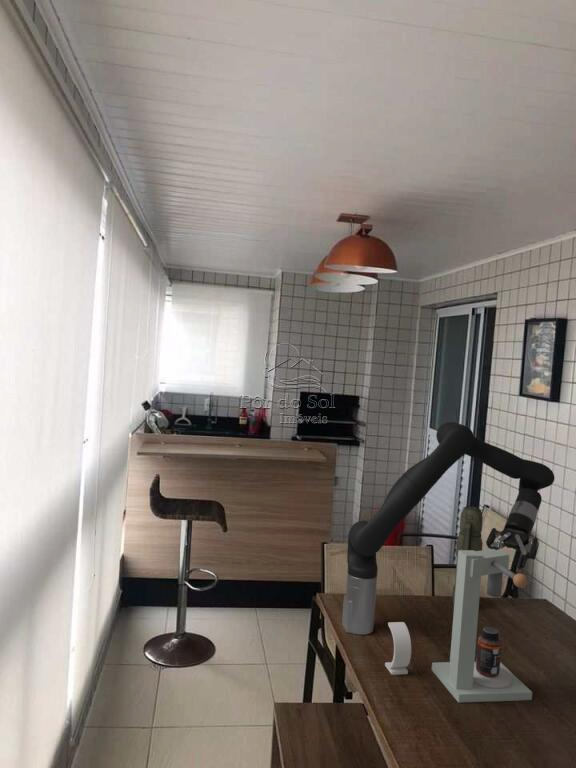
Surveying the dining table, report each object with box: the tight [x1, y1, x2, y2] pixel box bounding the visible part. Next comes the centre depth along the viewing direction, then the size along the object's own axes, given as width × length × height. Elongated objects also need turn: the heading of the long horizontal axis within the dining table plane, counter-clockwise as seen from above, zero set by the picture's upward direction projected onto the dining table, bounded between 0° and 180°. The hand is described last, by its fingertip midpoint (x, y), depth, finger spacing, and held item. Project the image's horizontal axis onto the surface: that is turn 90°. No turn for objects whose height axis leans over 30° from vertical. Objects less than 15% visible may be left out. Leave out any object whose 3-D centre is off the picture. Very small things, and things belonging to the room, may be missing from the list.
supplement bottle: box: [475, 627, 503, 677], centre depth 158 cm, size 6×6×11 cm
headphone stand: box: [384, 621, 412, 676], centre depth 162 cm, size 5×6×12 cm
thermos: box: [451, 505, 484, 606], centre depth 212 cm, size 9×12×35 cm
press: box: [431, 548, 533, 704], centre depth 152 cm, size 20×26×36 cm
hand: (504, 564), depth 175 cm, fingers open, 8 cm apart
